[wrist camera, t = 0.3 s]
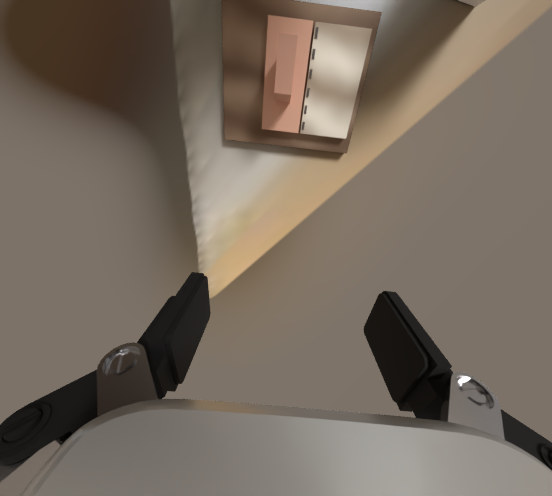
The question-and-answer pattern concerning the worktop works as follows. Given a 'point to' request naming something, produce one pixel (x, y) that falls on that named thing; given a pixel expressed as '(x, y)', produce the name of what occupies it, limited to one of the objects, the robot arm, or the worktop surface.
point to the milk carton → (472, 2)
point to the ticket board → (319, 77)
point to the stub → (285, 72)
